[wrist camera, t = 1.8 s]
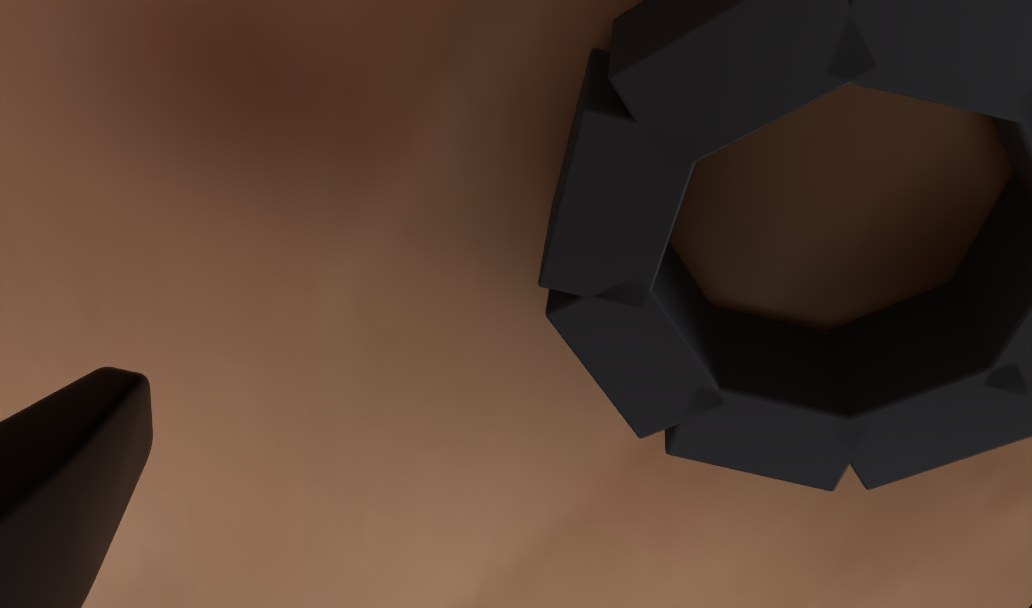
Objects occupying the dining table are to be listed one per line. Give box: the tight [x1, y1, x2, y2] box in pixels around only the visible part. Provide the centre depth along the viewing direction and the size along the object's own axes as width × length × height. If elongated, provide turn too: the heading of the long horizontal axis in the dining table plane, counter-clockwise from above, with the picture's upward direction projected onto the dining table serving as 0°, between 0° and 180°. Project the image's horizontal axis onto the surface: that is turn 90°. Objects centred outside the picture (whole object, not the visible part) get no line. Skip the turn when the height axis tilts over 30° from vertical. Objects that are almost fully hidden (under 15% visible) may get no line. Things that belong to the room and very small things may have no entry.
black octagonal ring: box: [538, 0, 1032, 491], centre depth 15 cm, size 9×9×2 cm
